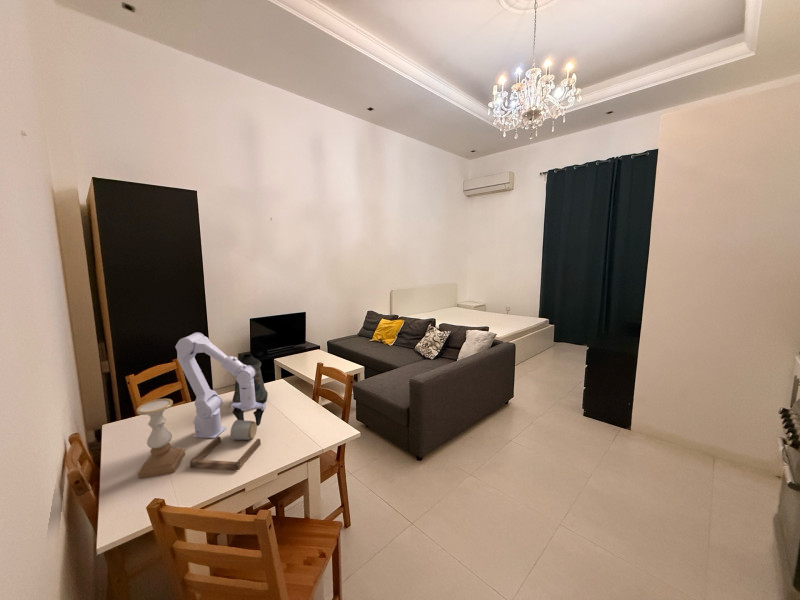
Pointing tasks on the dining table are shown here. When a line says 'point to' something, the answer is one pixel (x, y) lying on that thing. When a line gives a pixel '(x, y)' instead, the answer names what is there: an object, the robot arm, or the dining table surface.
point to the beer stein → (258, 381)
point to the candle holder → (159, 441)
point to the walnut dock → (222, 465)
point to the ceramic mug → (243, 430)
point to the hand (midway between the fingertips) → (250, 424)
